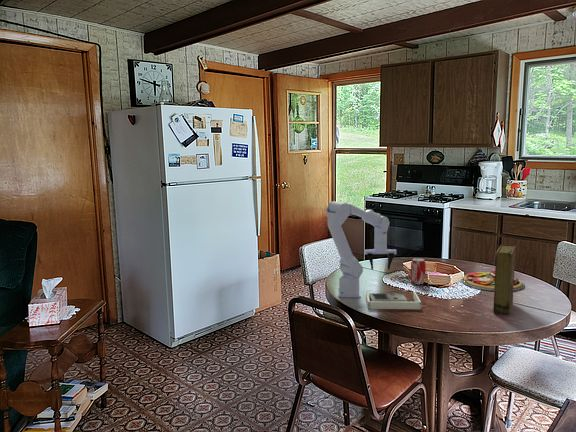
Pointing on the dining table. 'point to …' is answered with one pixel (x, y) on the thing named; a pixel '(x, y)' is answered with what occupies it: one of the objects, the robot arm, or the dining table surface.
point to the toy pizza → (486, 281)
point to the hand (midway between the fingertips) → (380, 269)
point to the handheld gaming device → (387, 297)
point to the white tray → (393, 303)
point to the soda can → (418, 270)
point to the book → (504, 279)
